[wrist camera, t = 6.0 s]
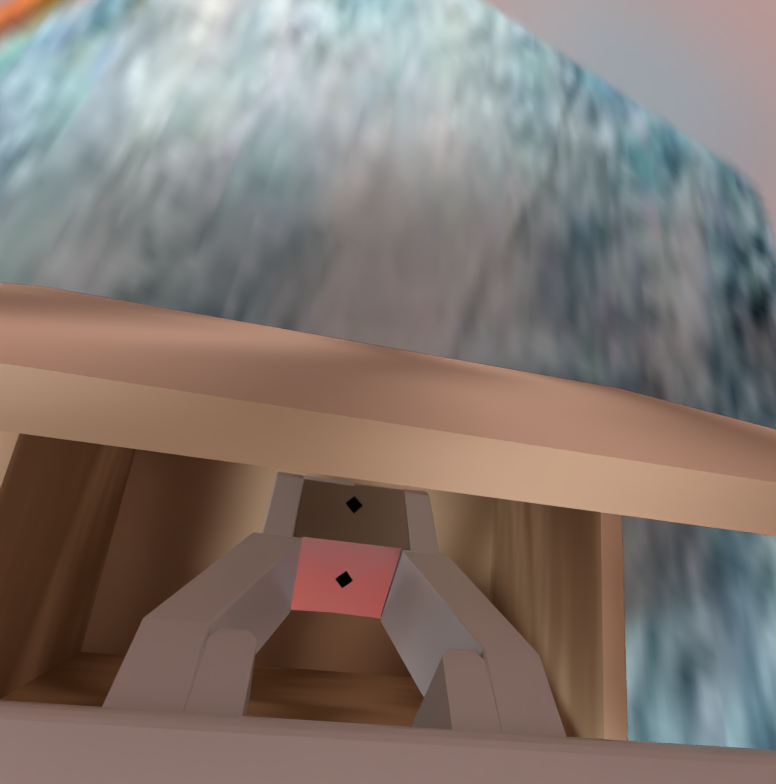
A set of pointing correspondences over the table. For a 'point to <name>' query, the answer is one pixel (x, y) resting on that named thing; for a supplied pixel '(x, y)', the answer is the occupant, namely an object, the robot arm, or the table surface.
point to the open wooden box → (300, 628)
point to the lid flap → (369, 413)
